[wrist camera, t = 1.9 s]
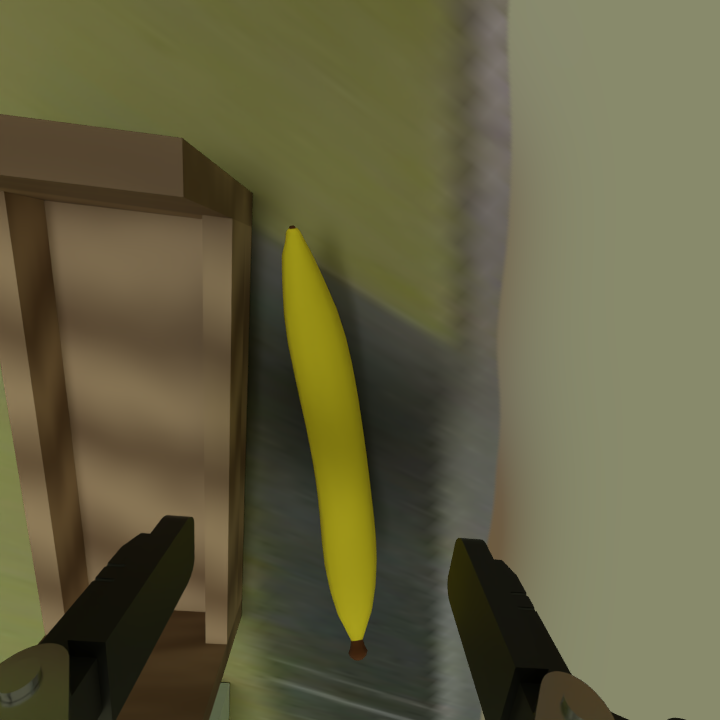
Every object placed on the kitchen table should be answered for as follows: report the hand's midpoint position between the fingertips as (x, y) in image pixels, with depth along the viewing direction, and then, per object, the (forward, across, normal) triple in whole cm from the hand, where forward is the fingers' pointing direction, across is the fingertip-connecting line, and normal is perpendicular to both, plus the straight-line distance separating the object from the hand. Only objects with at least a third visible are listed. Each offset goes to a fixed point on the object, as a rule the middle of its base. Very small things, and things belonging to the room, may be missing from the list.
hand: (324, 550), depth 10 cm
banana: (+9, 0, 0) cm, 9 cm away
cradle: (+9, +10, +2) cm, 14 cm away
